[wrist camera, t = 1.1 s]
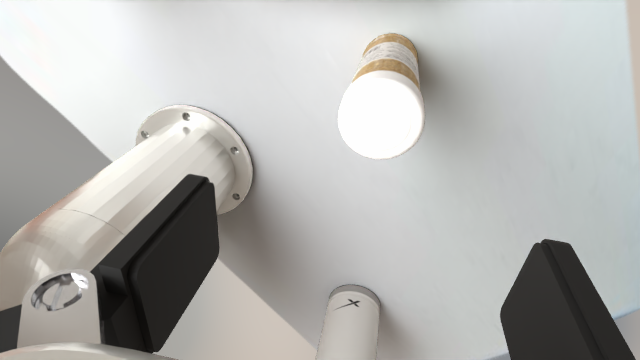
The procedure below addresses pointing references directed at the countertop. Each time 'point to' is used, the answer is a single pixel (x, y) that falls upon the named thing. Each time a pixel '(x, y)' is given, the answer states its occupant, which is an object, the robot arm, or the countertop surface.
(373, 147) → the sprinkles bottle
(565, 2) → the countertop surface
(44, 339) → the robot arm
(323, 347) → the travel mug
